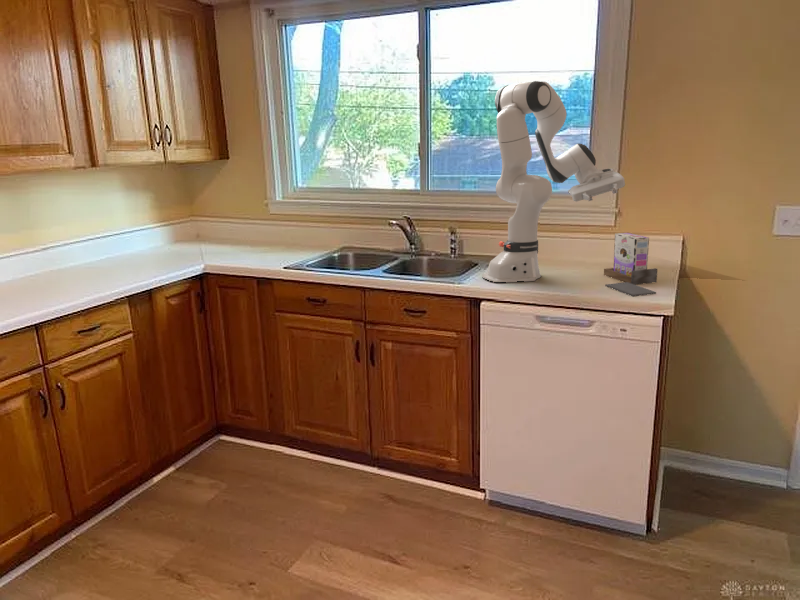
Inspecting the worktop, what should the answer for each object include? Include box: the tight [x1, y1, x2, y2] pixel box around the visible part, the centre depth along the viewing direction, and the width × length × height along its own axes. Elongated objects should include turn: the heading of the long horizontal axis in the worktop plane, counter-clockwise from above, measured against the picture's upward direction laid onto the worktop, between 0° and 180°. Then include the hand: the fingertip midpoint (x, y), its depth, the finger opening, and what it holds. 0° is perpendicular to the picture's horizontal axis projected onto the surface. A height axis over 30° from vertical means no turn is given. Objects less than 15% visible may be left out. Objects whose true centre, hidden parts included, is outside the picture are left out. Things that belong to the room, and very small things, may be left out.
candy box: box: [613, 232, 650, 276], centre depth 230 cm, size 14×6×16 cm, turn 12°
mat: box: [605, 282, 657, 297], centre depth 216 cm, size 9×16×1 cm, turn 16°
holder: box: [603, 267, 658, 285], centre depth 232 cm, size 10×18×5 cm, turn 16°
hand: (602, 195), depth 236 cm, fingers open, 8 cm apart
